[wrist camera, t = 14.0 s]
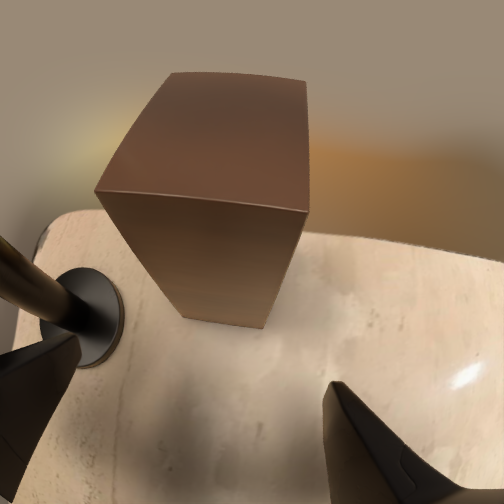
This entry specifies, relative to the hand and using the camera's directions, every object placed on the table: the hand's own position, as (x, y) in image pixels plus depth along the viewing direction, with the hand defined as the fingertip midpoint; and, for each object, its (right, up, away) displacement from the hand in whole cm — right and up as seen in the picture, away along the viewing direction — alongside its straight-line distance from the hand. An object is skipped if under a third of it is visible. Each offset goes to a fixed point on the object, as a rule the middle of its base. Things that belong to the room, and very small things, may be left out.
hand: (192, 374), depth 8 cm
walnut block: (0, +2, +9) cm, 10 cm away
